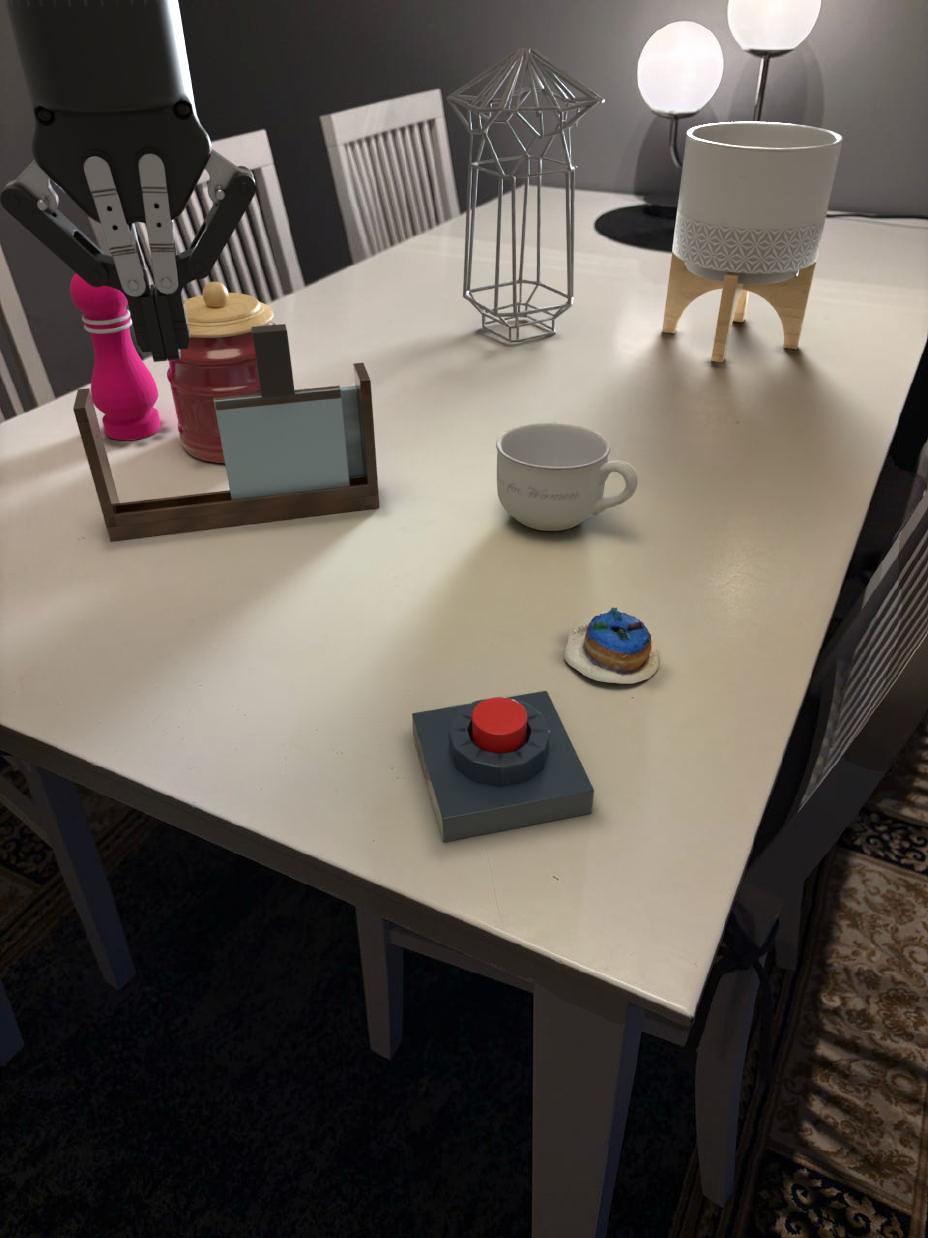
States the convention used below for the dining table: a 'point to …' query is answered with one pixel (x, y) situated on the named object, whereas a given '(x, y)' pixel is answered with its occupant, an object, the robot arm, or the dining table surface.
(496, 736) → the button
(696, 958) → the dining table surface
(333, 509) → the window frame
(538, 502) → the teacup
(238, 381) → the kitchen canister
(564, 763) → the button box
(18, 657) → the dining table surface
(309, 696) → the dining table surface
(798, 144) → the planter
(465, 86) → the geometric lantern
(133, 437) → the pepper mill
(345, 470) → the window pane
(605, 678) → the dessert
